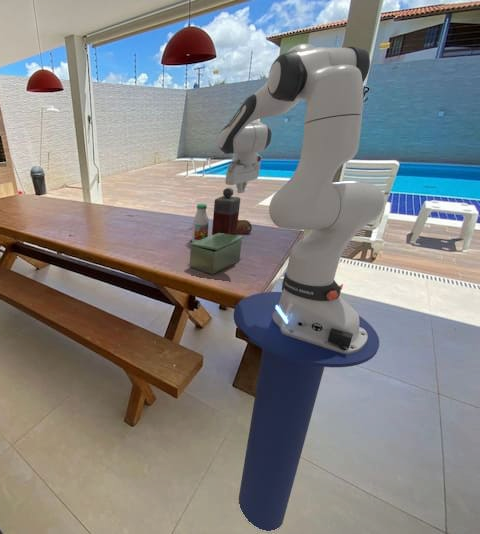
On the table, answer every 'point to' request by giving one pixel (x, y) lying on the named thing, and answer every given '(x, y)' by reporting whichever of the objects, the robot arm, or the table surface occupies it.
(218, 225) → the dark brown tall piece
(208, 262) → the green hinged box
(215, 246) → the lid
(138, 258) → the table surface
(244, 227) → the brown rounded piece
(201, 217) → the milk bottle
